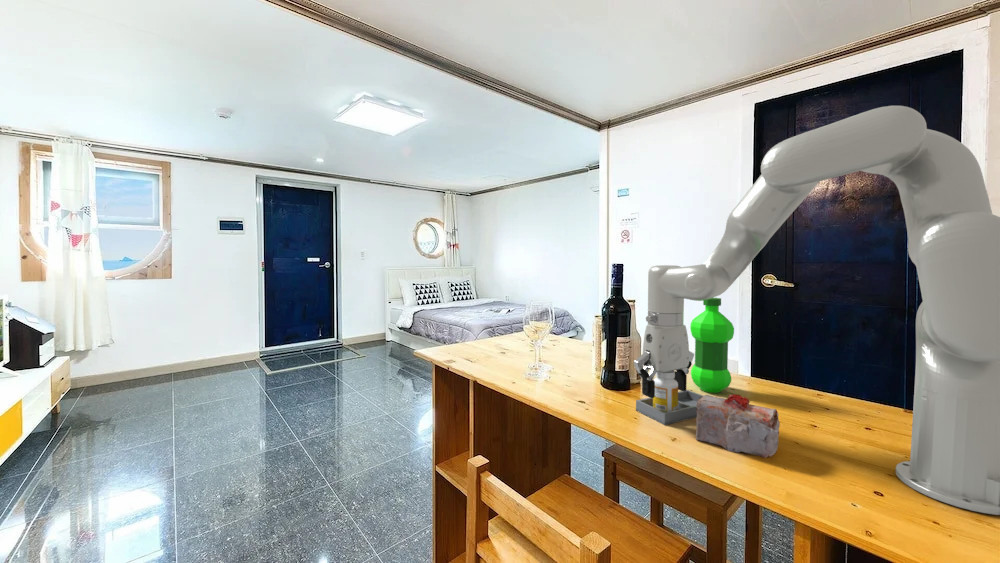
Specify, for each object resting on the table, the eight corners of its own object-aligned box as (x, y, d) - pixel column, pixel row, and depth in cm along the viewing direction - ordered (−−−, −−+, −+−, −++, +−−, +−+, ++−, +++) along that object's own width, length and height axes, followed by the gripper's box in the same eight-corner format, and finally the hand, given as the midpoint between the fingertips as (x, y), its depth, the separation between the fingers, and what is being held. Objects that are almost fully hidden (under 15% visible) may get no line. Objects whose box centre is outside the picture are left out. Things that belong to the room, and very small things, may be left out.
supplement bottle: (672, 407, 92) (673, 367, 91) (681, 416, 86) (682, 374, 86) (649, 407, 92) (649, 367, 92) (657, 416, 87) (657, 374, 86)
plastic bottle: (691, 393, 102) (692, 300, 101) (688, 381, 112) (690, 295, 110) (734, 398, 98) (737, 301, 97) (728, 385, 108) (730, 296, 107)
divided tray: (718, 411, 90) (718, 401, 90) (664, 425, 84) (664, 413, 84) (687, 399, 98) (687, 389, 98) (636, 410, 92) (636, 400, 92)
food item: (780, 448, 73) (781, 397, 73) (777, 466, 67) (779, 411, 67) (700, 429, 82) (701, 383, 81) (691, 443, 76) (692, 394, 75)
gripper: (648, 325, 81) (647, 404, 82) (706, 318, 88) (705, 392, 89) (623, 320, 88) (623, 393, 89) (679, 314, 95) (678, 382, 96)
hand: (664, 392), depth 89 cm, fingers open, 9 cm apart
